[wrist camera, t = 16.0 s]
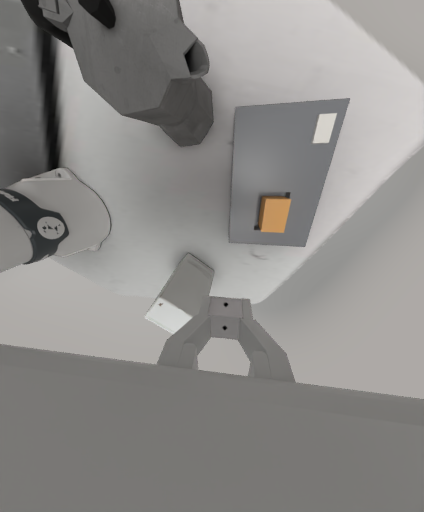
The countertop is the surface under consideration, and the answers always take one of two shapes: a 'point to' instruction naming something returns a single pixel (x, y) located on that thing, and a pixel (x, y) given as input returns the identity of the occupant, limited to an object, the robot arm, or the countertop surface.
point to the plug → (273, 213)
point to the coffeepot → (136, 59)
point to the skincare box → (181, 295)
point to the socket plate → (282, 165)
